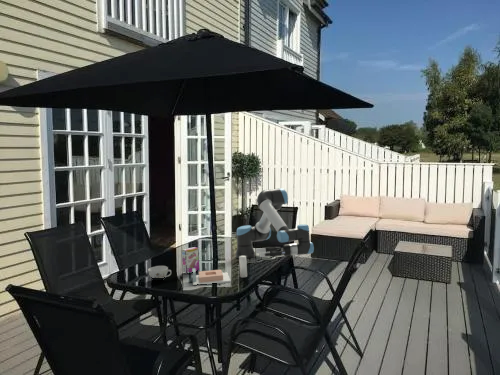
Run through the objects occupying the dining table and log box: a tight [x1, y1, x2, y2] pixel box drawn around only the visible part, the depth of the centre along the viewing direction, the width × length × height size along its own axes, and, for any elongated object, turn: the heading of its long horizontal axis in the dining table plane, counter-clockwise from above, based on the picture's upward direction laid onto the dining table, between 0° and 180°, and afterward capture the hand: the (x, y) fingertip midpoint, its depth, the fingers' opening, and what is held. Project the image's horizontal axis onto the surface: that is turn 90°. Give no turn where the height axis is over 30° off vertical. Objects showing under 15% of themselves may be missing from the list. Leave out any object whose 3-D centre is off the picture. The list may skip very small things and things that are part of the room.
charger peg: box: [238, 256, 248, 278], centre depth 272 cm, size 4×4×13 cm
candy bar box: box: [181, 246, 200, 273], centre depth 290 cm, size 11×5×16 cm, turn 134°
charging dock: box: [192, 268, 232, 286], centre depth 269 cm, size 20×23×7 cm
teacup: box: [147, 265, 172, 279], centre depth 274 cm, size 15×12×8 cm
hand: (257, 252), depth 273 cm, fingers open, 13 cm apart
